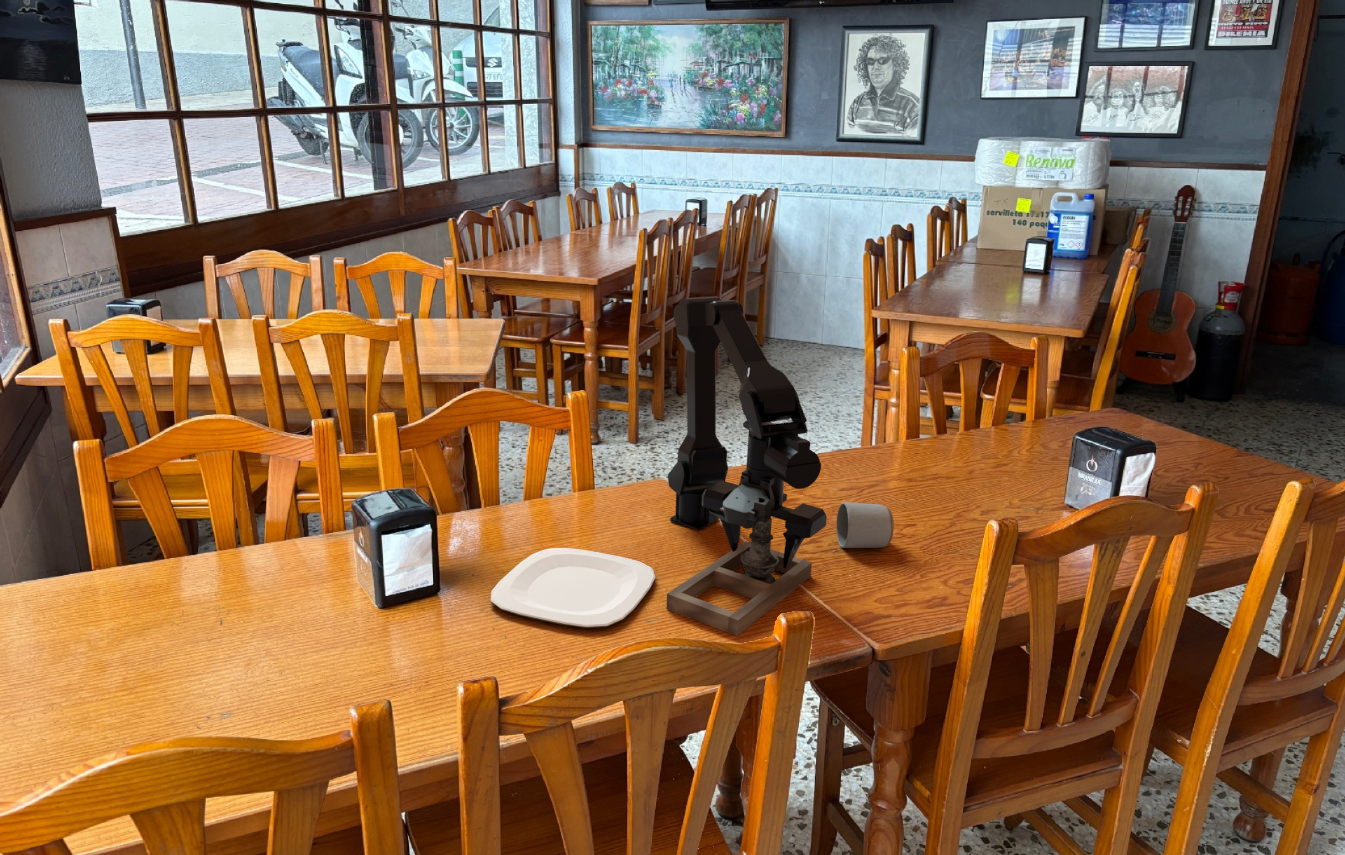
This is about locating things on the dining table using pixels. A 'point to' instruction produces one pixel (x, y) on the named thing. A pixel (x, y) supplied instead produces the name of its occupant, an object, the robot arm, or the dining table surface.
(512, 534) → the dining table surface
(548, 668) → the dining table surface
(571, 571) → the plate
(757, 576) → the salt shaker
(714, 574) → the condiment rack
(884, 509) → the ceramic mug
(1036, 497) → the dining table surface
